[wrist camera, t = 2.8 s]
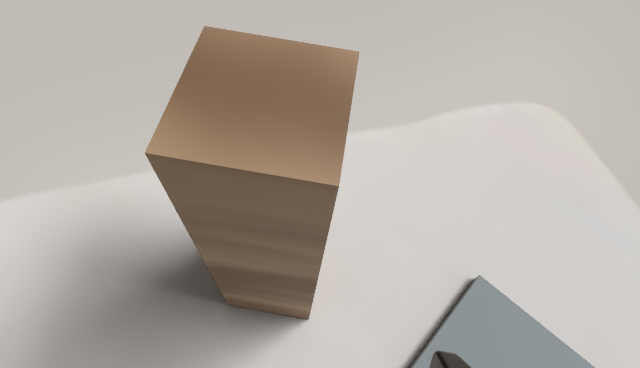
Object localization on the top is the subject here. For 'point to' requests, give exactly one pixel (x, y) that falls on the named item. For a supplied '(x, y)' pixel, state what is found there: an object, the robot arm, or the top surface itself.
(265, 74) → the walnut pillar
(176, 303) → the top surface
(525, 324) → the slate coaster
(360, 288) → the top surface
